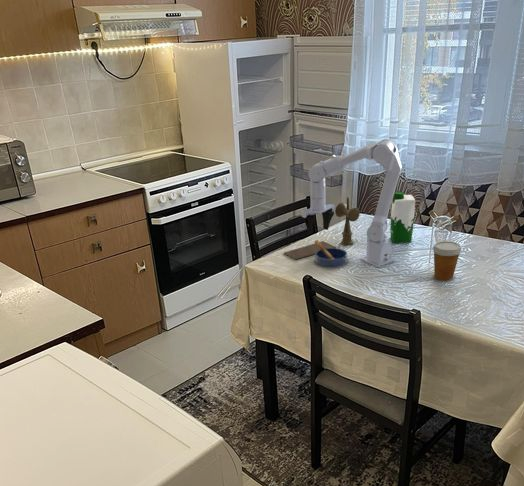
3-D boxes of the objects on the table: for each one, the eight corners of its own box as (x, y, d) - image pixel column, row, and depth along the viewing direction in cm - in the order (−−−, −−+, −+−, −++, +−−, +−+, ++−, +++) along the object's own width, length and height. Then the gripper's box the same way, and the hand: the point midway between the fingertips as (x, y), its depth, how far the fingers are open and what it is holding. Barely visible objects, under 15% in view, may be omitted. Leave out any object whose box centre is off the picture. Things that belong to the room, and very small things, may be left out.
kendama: (345, 239, 232) (346, 192, 222) (359, 245, 225) (361, 197, 214) (334, 242, 230) (334, 195, 219) (348, 249, 222) (349, 200, 212)
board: (322, 243, 230) (322, 241, 229) (336, 249, 223) (336, 246, 223) (283, 254, 221) (283, 252, 221) (296, 261, 215) (296, 258, 214)
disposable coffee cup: (443, 285, 188) (447, 252, 182) (424, 276, 196) (427, 244, 189) (463, 278, 192) (468, 246, 186) (444, 269, 199) (447, 238, 193)
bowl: (353, 262, 210) (353, 254, 208) (328, 270, 205) (328, 262, 203) (333, 253, 219) (333, 245, 217) (309, 261, 214) (309, 253, 212)
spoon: (341, 262, 209) (341, 248, 206) (334, 265, 208) (334, 251, 205) (319, 252, 220) (319, 239, 217) (312, 254, 218) (312, 241, 215)
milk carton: (388, 237, 231) (390, 190, 221) (409, 235, 231) (413, 188, 221) (391, 244, 224) (395, 196, 213) (414, 243, 224) (418, 194, 213)
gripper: (326, 191, 211) (326, 224, 218) (296, 198, 205) (297, 233, 212) (337, 194, 206) (337, 229, 213) (307, 202, 200) (307, 237, 207)
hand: (318, 231), depth 212 cm, fingers open, 7 cm apart
